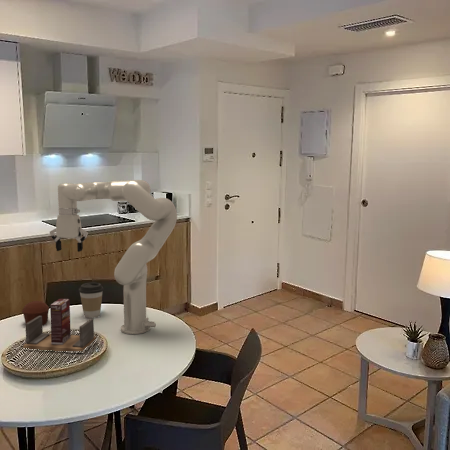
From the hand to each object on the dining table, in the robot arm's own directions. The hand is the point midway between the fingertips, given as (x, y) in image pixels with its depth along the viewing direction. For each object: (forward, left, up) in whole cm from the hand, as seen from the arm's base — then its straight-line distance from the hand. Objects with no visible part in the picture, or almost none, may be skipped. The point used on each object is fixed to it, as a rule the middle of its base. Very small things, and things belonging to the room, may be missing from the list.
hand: (69, 250), depth 207 cm
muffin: (+16, +2, -34) cm, 37 cm away
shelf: (-7, +24, -33) cm, 42 cm away
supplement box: (-7, +24, -32) cm, 40 cm away
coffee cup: (-4, -12, -34) cm, 36 cm away
